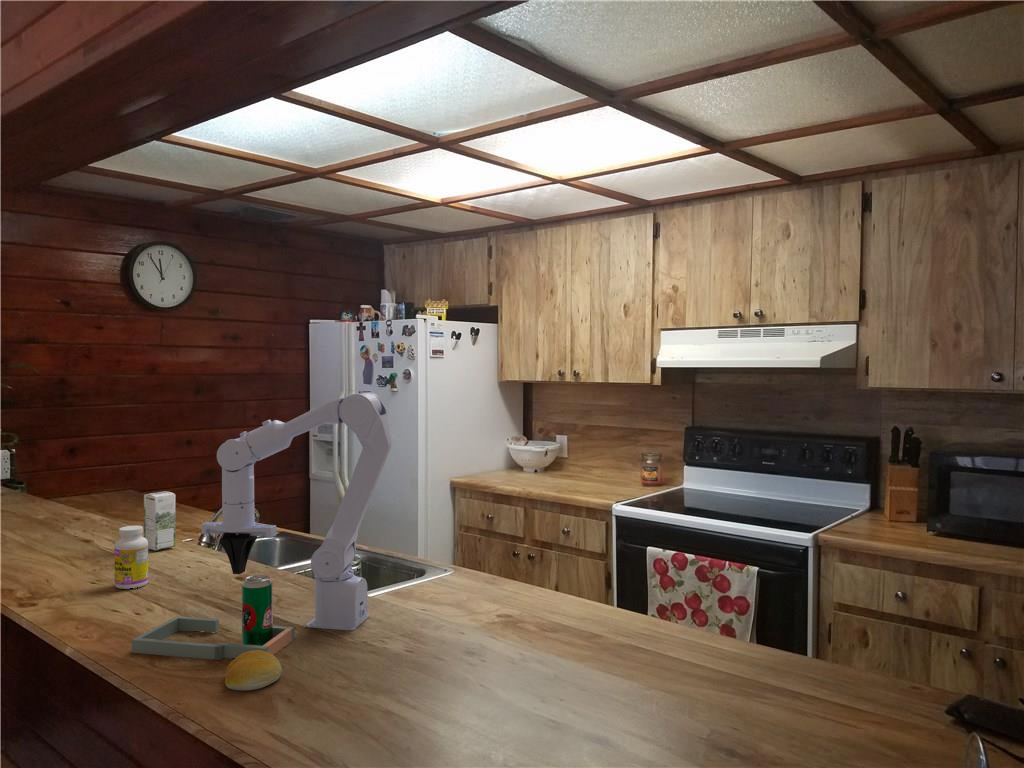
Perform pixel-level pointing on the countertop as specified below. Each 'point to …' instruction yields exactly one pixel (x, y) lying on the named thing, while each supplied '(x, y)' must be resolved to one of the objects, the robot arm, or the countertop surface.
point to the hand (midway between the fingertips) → (239, 572)
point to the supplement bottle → (131, 558)
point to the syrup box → (159, 520)
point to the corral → (157, 646)
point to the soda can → (257, 610)
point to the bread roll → (252, 671)
